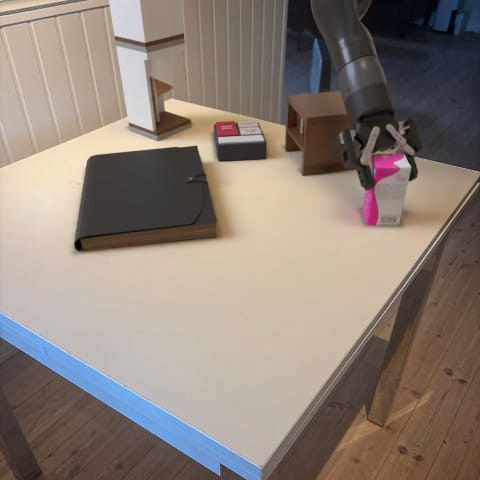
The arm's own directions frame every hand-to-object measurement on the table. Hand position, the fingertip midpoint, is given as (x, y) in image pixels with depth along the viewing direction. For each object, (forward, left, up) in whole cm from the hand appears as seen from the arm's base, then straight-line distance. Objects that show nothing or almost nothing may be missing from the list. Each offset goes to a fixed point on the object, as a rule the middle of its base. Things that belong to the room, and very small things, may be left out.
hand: (391, 184), depth 83 cm
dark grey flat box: (+18, -40, -8) cm, 45 cm away
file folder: (+41, -18, -8) cm, 46 cm away
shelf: (+2, -29, -8) cm, 30 cm away
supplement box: (0, -1, -8) cm, 8 cm away
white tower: (+35, -56, -8) cm, 67 cm away
